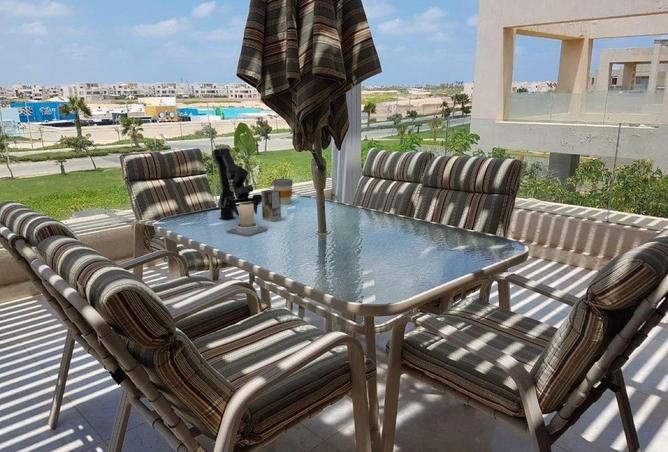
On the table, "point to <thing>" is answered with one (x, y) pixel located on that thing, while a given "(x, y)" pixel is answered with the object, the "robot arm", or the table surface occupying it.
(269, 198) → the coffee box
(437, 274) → the table surface
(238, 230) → the ring holder
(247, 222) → the kraft roll
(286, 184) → the reusable coffee cup
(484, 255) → the table surface
